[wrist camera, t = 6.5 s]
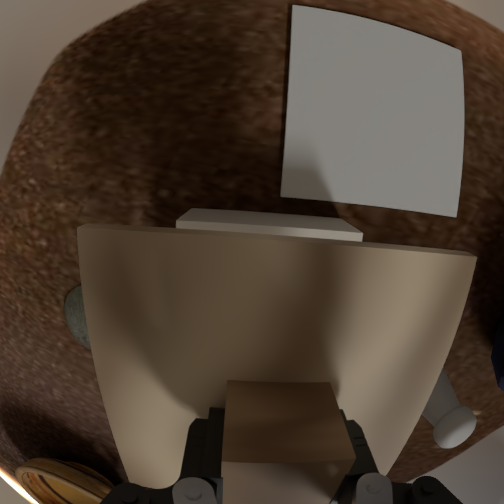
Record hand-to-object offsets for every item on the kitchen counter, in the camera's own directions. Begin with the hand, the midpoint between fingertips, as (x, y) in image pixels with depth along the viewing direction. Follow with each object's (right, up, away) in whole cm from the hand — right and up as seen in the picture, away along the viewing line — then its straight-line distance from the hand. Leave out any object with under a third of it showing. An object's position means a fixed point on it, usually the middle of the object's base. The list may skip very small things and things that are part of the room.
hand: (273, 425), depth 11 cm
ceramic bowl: (-31, -34, +28) cm, 54 cm away
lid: (0, 0, +1) cm, 1 cm away
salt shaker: (+17, -6, +20) cm, 27 cm away
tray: (+11, +20, +13) cm, 26 cm away
